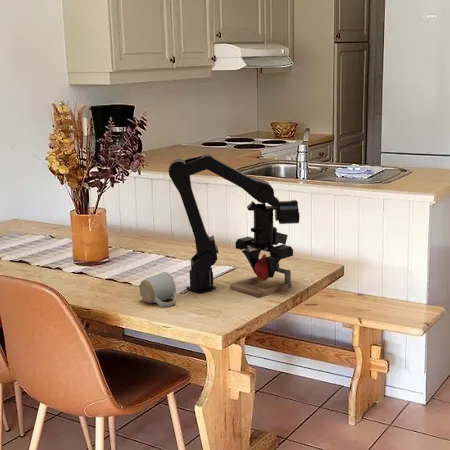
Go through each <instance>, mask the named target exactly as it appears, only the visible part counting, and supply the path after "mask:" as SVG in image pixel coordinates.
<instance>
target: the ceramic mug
mask: <svg viewBox="0 0 450 450" xmlns="http://www.w3.org/2000/svg"><path fill="white" fill-rule="evenodd" d="M176 291H177V288H176V284H175V281H174V277H173V276H171V274H170V273H169V272H166V271H163V272H160V273H157V274H155V275H152V276H149V277H148V276H147V277H146V278H145V279H143V280H141V281H140V283H139V294H140V296H141V298H142V300H143V301H144V302H145V303H147V304H154V303H156V304H157V305H158V306H160V307H165V308H167V307H173V306H174V305H175V303H176V299H177V297H176ZM170 299H173V300H172V301H169V302H165V301H166V300H170Z"/></svg>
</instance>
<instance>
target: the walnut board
mask: <svg viewBox="0 0 450 450" xmlns="http://www.w3.org/2000/svg"><path fill="white" fill-rule="evenodd" d="M276 272H277V273H280V274H283V275H284V282H282V283H280V284H277V285H273V286H271V287H268V288H261V287H258V286H255V285H253V284H256V283H259V282H262V281H263V280H262V279H260V278H259V277H258V276H257V275H256V276H254V277H251V278H247V279H245V280H241V281H238V282H235V283H232V284H229V289H230V290H232V291H236V292H239V293H242V294H246V295H249V296H252V297H255V298H259V299H260V298H262V297H265V296H269V295H271V294H274V293H277V292H280V291H283V290H286V289H288V288H292V287H293V284H292V283H293V282H291V281H292V280H291V279H292V278H291V275H292V271H291V269H285V268H281V267H280V264H279V263H278V265H277V268H276V271H275V273H276ZM263 282H264V281H263ZM268 294H269V295H268Z"/></svg>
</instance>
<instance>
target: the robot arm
mask: <svg viewBox="0 0 450 450" xmlns="http://www.w3.org/2000/svg"><path fill="white" fill-rule="evenodd" d="M168 166H169V167H168V175H169V177H170V179H171V181H172V183H173V185H174V186H175V188H176V189H177V192H178V194H179V195H180V198H181V200H182V203H183V207H184V210H185V214H186V215H187V218H188V222H189V226H190V228H191V230H192V233H193V237H194V242H195V249H196V253H195V254H194V255H193V256H192V257H191V258H190V269H189V270H188V272H189V286H187V287H186V290H189V291H192V292H195V293H198V294H203V293H206V292H209V291H213V290H216V289H217V286H215V285H214V272H213V267H212V266H214V265H215V264H216V263H217V260H218V254H220V253H219V247H218V246H217V244H216V241H215V236H214V234H213V235H209V234H208V232H207V231H206V228H205V225H204V222H203V221H204V220H203V218H202V215H201V213H200V209H199V206H198V203H197V201H196V198H195V195H194V191H193V189H192V181H191V176H192V175H196V174H198V173H201V172H203V171H207V170H208V171H209V172H211V173H213V174H216V175H217V176H219V177H221V178H222V179H224V180H226V181H228V182H230V183H232V184H234V185H235V186H238V187H239V188H241V189H242V190H243V191H245V192H246V193H247V194H248V195H249V196H251V198H253V199H254V200H256V201H257V202H258V203H256V202H254V201H253V200H251V203H249V204H248V205H247V206H246V209H247V210H248V211H253V227H251V228H250V232H251V233H253V237H251V236H245V237H244V236H243V237H241V238H237V240H236V241H235V249H236V250H241V253H242V254H244V256H245V258H246V259H247V261H248V263H249V265H250V267H251V269H252V271H253V273H254V274H255V275H256V273H255V271H254V267H255V264H256V262H257V261H258V260H259V259H260V254H261V252H262V251H264V252H267V253H269V256H266V262H267V267H268V273H269V278H270V279H272V278H274V276H275V273H276V268H277V265H278V264H279V263H280V262H281V260H284V259H287V258H290V257H294V249H293V246H291V245H286V244H287V240H288V234H285V233H282V232H278V229H277V227H276V226H274V220H275V221H276V222H278V224H279V225H287V224H289V225H290V224H300V218H301V217H300V216H301V215H300V212H299V211H300V209H299V202H298V200H297V199H292V200H285V201H284V200H282V201H281V200H279V198H278V197H277V196H275V190H274V187H272V185H271V184H270V183H269V182H268V181H266V180H264V179H260V178H256V177H253V176H250V175H247V174H245V173H243V172H241V171H239V170H238V169H235V168H234V167H232V166H230V165H229V164H226V163H225V162H224V161H223V162H222V161H221V160H219V159H217V158H215V157H214V156H213V155H212V154H209V153H205V154H203V155H200V156H195V157H191V158H190V157H189V158H186V159H182V158H175V159H173V160H171V162H170V164H169V165H168ZM266 204H268V205H266ZM274 245H275V246H274Z"/></svg>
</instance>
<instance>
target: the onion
mask: <svg viewBox="0 0 450 450" xmlns="http://www.w3.org/2000/svg"><path fill="white" fill-rule="evenodd" d="M266 257H267V255H266V254H262V256H261V258H259V260H258V261H257V262H256V264H255V267H254V271H255V273H256V274H255V273H254V274H255V275H256V277H257V276H258V277H259V278H260V279H262V280H263V282H264V281H267V280H268V279H269V278H270V277H269V273H268V267H267V262H266ZM254 271H253V272H254Z"/></svg>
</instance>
